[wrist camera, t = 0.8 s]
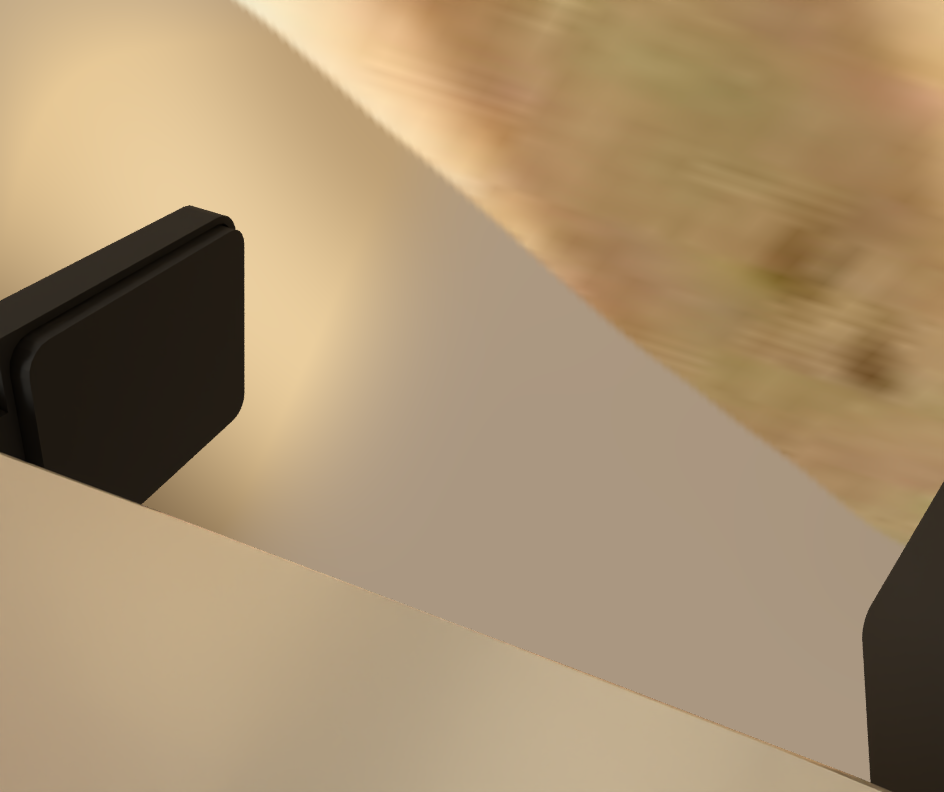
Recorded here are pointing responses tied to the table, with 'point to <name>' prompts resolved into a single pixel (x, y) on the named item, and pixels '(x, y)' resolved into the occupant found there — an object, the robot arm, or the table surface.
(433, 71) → the table surface
